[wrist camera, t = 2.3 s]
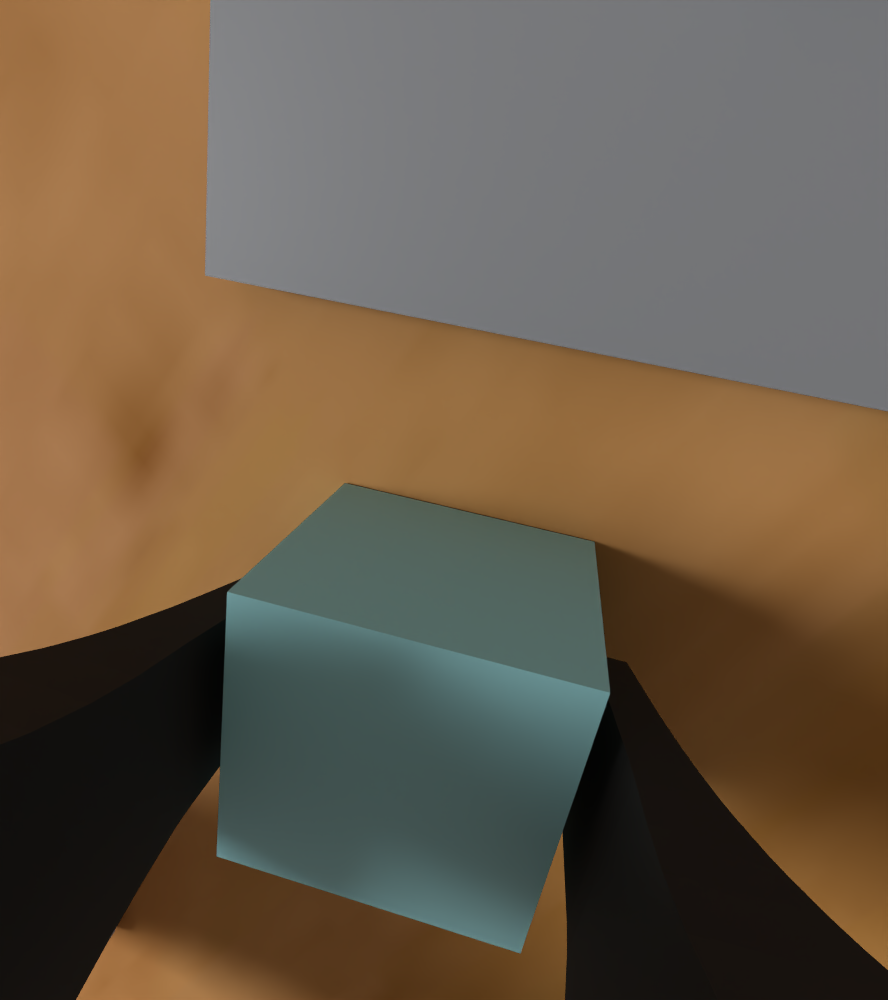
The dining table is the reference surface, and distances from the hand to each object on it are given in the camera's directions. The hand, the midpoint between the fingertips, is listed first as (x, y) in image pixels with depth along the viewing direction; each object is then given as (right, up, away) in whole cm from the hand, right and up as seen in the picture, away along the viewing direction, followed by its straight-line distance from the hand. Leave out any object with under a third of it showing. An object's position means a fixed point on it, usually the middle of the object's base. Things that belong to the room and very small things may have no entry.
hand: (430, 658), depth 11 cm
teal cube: (0, 0, +1) cm, 1 cm away
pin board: (+5, +11, -4) cm, 12 cm away
